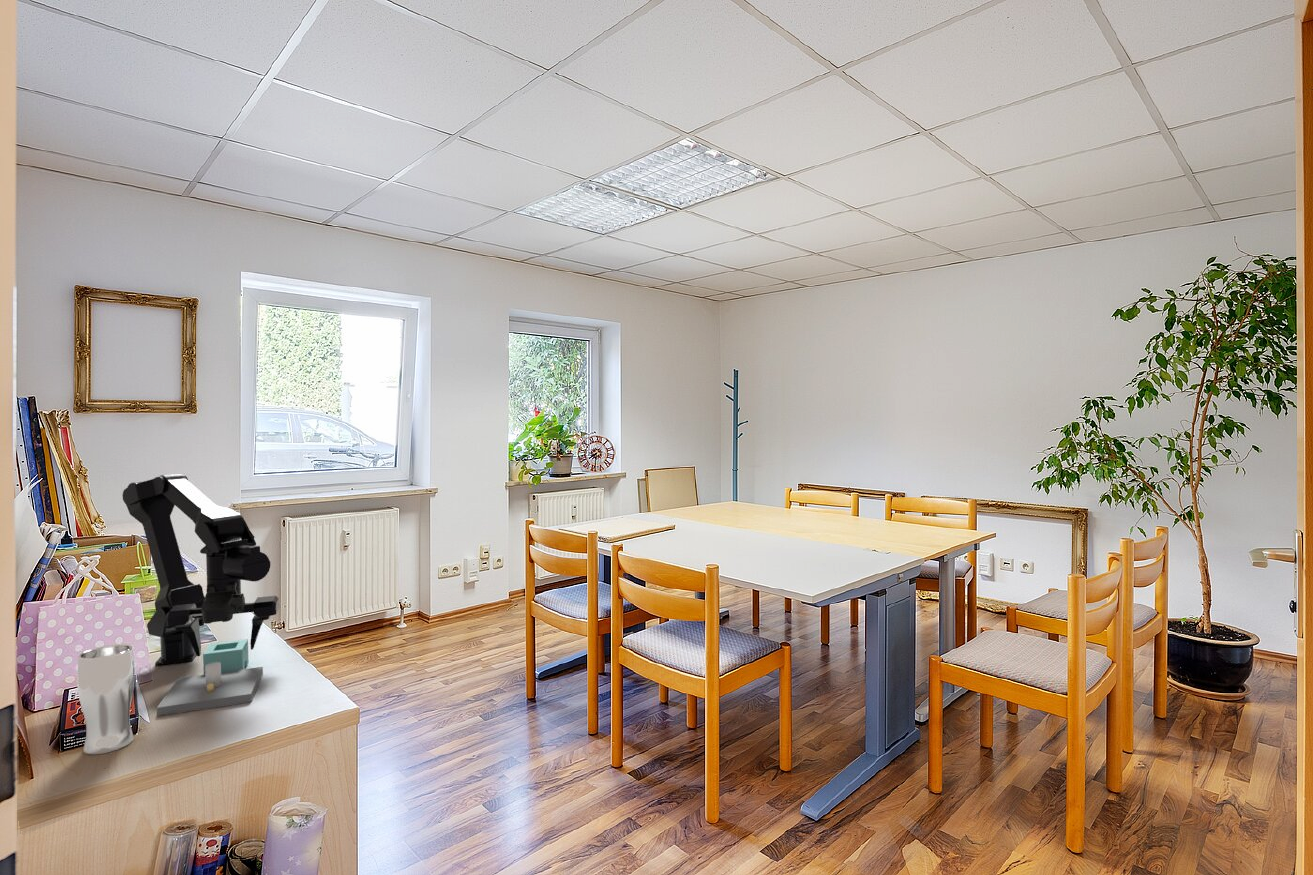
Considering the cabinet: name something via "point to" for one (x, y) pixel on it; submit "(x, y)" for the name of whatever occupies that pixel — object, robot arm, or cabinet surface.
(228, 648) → the collar
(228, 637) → the cabinet surface
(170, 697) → the base
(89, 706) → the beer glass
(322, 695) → the cabinet surface
